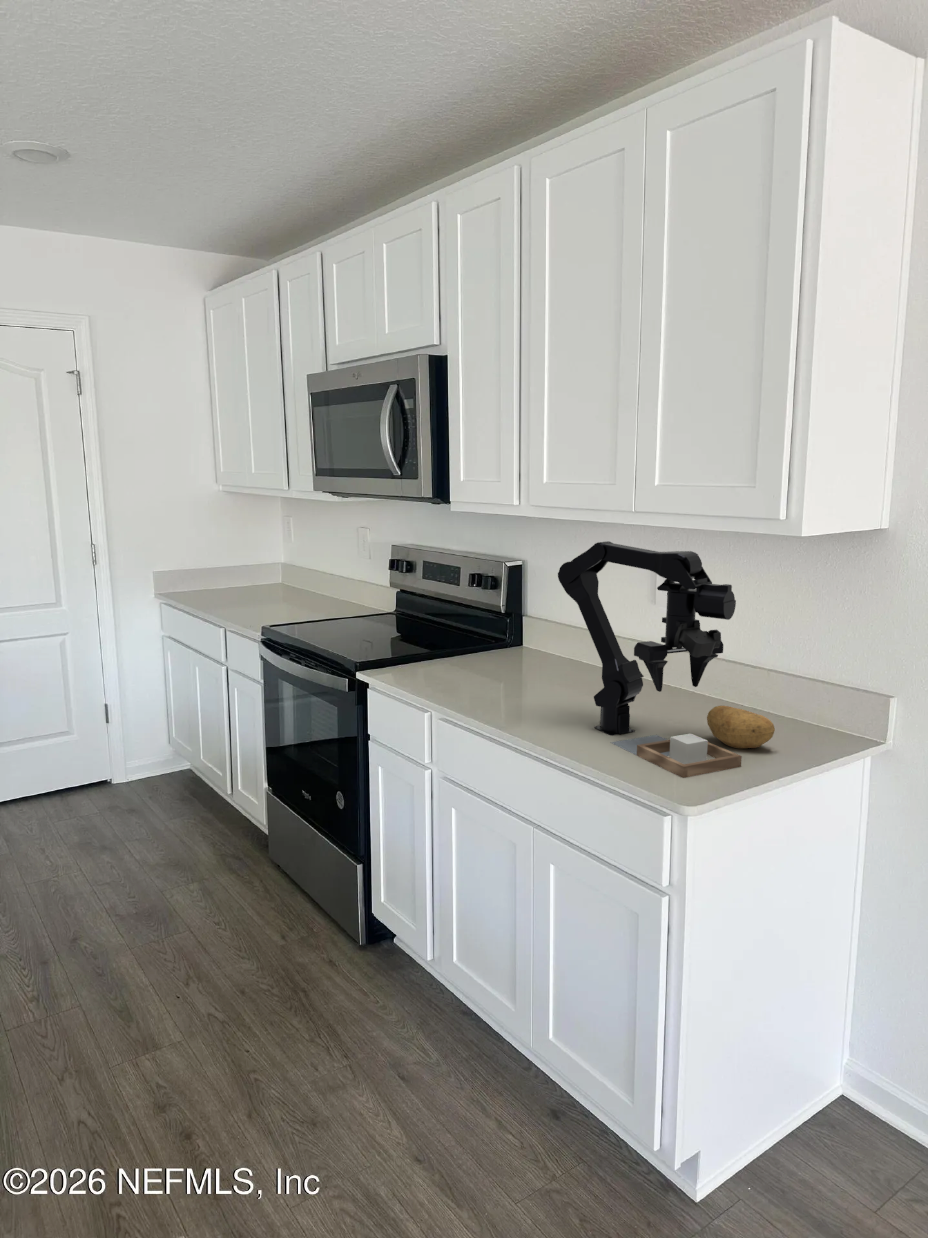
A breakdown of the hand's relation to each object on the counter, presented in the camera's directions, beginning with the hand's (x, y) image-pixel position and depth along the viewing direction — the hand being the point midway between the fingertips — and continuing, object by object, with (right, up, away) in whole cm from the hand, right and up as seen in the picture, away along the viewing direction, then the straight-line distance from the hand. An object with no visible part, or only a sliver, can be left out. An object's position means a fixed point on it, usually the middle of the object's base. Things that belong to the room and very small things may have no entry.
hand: (677, 688), depth 177 cm
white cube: (0, -14, -9) cm, 16 cm away
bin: (0, -14, -9) cm, 16 cm away
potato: (+13, -12, +1) cm, 18 cm away
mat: (-5, -12, 0) cm, 13 cm away
